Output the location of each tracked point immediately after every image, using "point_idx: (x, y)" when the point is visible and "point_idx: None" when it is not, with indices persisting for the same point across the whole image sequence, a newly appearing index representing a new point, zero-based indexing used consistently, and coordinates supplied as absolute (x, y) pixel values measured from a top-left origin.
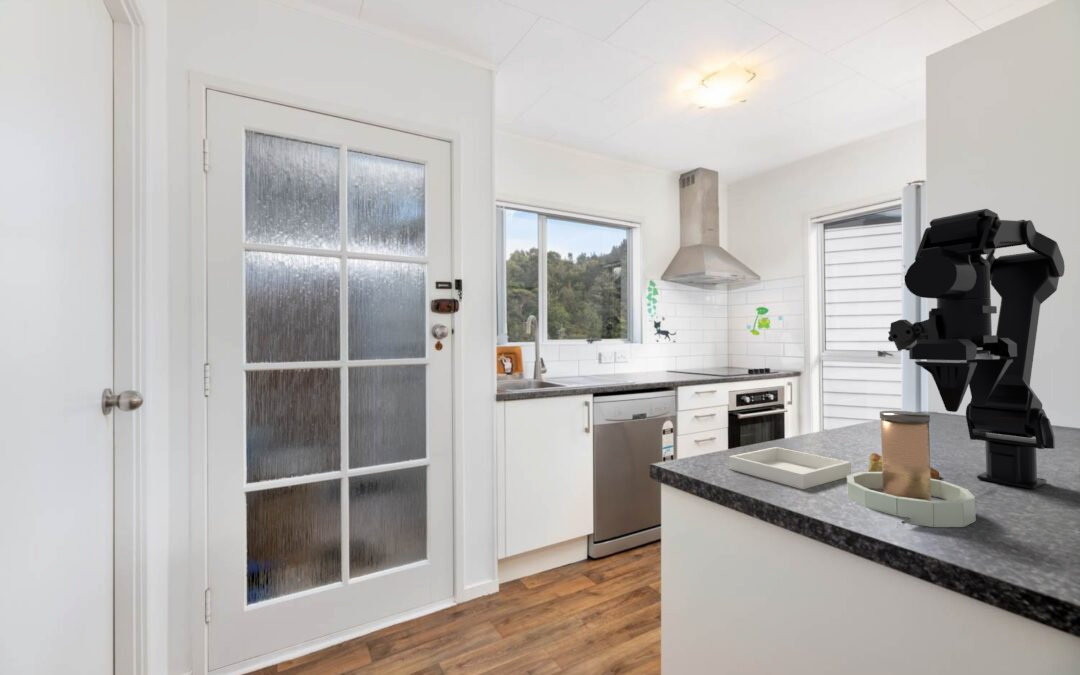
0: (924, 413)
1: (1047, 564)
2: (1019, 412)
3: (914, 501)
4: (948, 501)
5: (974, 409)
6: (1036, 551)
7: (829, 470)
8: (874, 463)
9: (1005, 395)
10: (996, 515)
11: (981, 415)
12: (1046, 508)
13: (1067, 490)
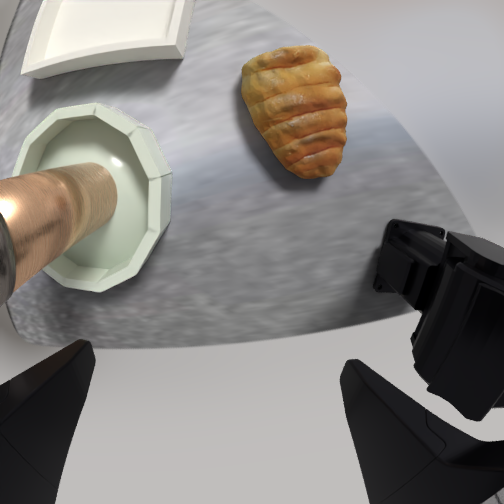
0: (3, 294)
1: (60, 335)
2: (434, 372)
3: None
4: (52, 272)
5: (472, 287)
6: (79, 329)
7: (92, 56)
8: (251, 67)
9: (478, 374)
10: (168, 286)
11: (453, 295)
12: (272, 319)
13: (399, 312)
